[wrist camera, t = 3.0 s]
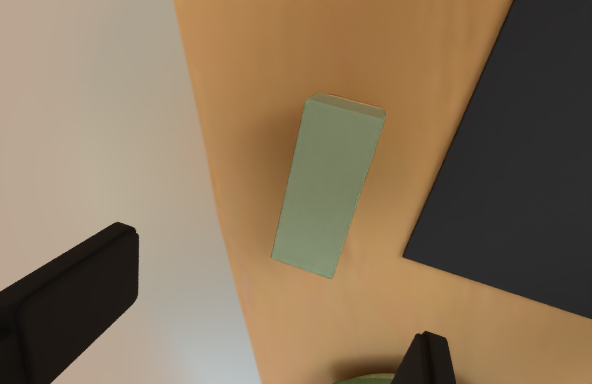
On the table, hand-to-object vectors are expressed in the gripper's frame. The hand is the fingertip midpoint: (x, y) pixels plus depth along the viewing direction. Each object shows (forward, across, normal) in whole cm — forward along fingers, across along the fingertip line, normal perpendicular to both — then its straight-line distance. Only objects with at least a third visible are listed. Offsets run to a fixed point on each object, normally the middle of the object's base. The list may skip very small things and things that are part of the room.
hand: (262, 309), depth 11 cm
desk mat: (+14, -13, -5) cm, 20 cm away
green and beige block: (+14, 0, 0) cm, 14 cm away
